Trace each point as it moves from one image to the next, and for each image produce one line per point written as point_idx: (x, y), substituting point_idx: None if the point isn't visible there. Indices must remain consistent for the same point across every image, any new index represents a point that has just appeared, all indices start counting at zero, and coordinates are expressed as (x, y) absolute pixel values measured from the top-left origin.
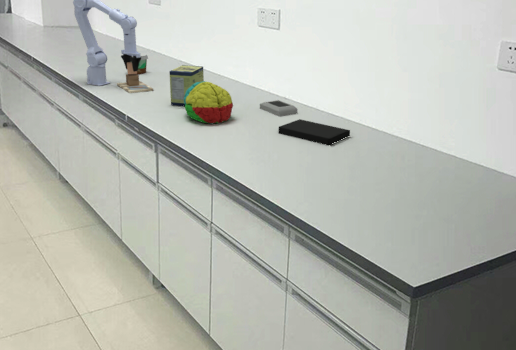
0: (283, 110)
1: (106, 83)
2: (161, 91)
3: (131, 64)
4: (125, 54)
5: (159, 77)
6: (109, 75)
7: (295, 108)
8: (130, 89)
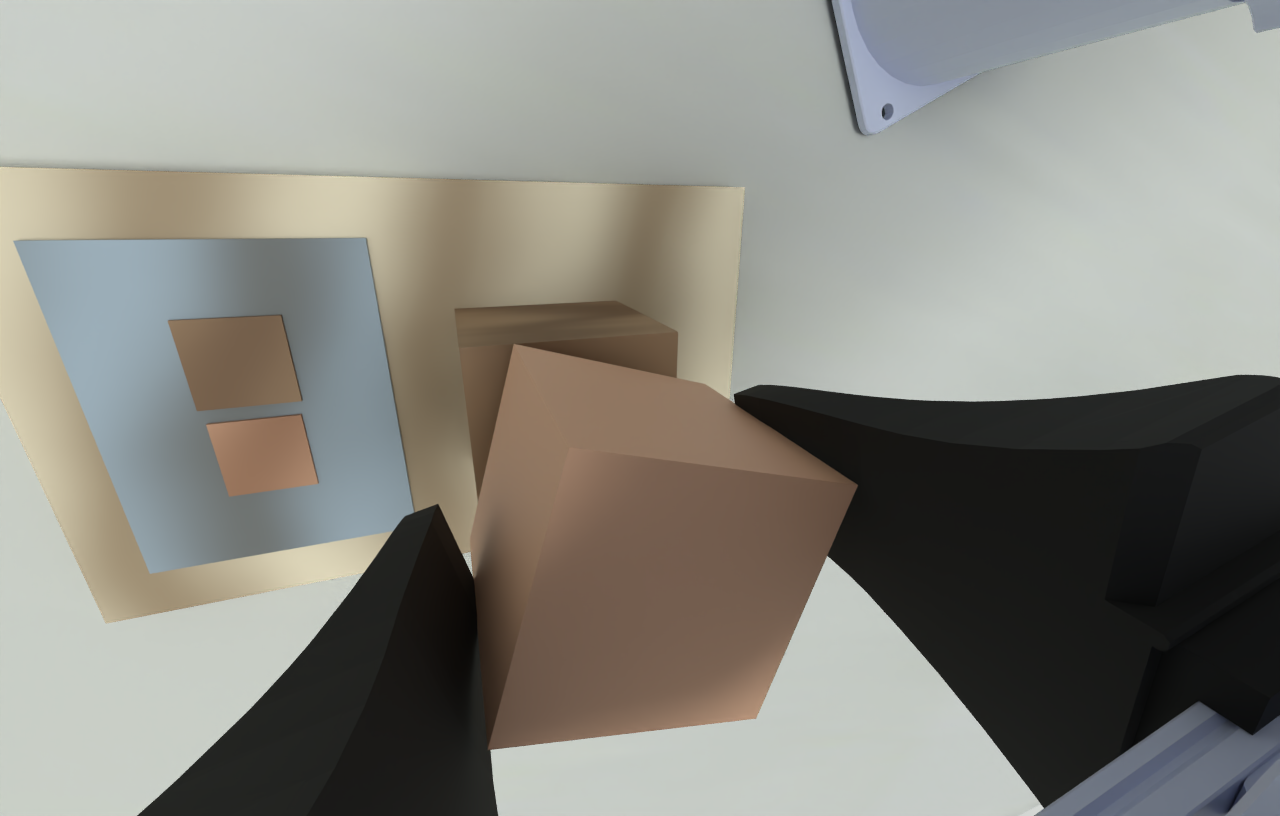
0: None
1: (848, 49)
2: (26, 702)
3: (522, 587)
4: (1244, 661)
5: (820, 675)
6: (1142, 270)
7: None
8: (109, 240)
